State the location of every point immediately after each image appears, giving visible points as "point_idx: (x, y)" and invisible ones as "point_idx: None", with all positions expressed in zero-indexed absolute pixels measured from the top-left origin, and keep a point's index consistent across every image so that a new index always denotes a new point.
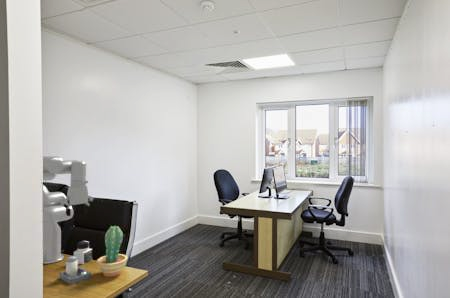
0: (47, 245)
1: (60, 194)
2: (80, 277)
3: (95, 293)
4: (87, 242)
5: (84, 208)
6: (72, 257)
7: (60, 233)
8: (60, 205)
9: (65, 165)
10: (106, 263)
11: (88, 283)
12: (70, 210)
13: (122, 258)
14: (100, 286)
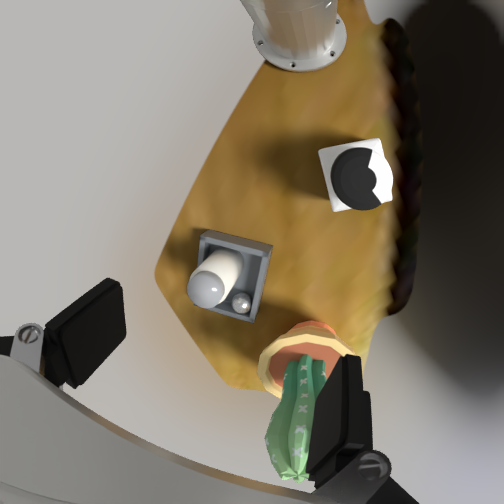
0: (253, 20)
1: None
2: (221, 312)
3: (213, 367)
4: (372, 205)
5: (342, 400)
6: (204, 293)
7: (321, 3)
8: None
9: None
10: (268, 380)
11: (235, 325)
12: (90, 375)
13: None
14: (240, 359)
